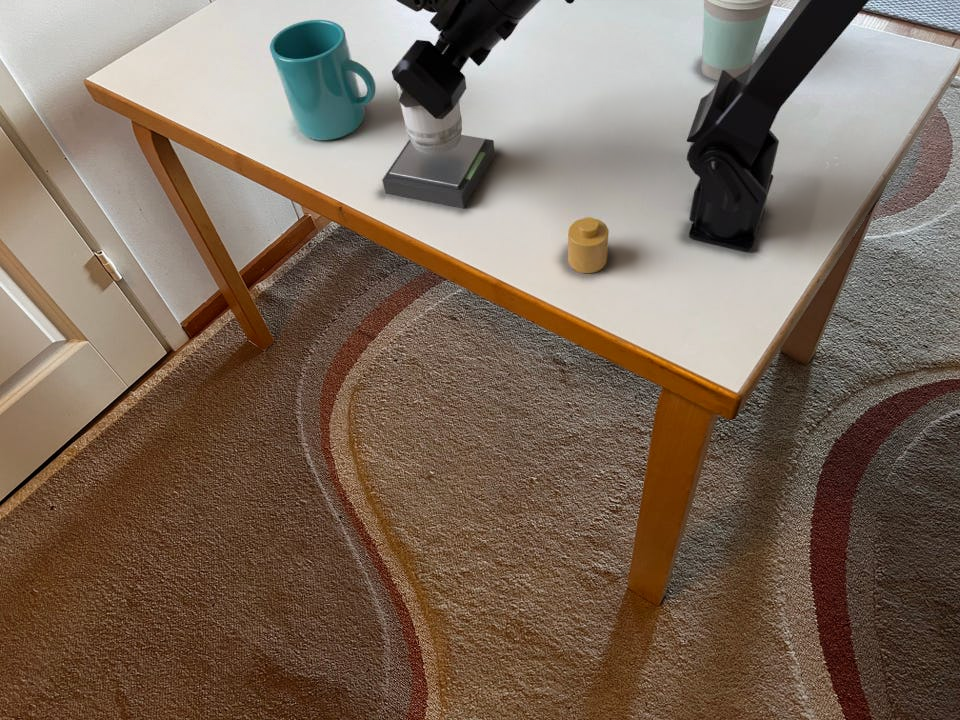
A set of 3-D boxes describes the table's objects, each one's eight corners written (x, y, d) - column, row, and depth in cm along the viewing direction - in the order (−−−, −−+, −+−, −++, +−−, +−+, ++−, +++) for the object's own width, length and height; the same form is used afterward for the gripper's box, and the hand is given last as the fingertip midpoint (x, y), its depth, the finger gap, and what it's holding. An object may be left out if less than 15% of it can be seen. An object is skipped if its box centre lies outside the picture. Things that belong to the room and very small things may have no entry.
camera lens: (475, 137, 80) (467, 73, 74) (432, 164, 78) (420, 101, 72) (440, 115, 84) (429, 52, 77) (398, 140, 82) (383, 78, 75)
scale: (495, 153, 86) (493, 135, 84) (463, 208, 81) (461, 190, 79) (420, 141, 89) (416, 123, 87) (385, 193, 84) (380, 175, 82)
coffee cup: (737, 44, 95) (756, -51, 85) (772, 77, 90) (797, -20, 80) (678, 60, 94) (691, -34, 84) (710, 95, 89) (728, -1, 79)
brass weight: (612, 251, 75) (614, 215, 71) (599, 277, 73) (601, 242, 69) (575, 242, 76) (576, 206, 72) (562, 268, 74) (562, 232, 70)
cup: (370, 149, 89) (349, 66, 80) (285, 138, 92) (255, 57, 83) (397, 106, 94) (379, 23, 85) (315, 97, 97) (290, 16, 88)
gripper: (476, -129, 66) (394, -17, 78) (390, -30, 56) (311, 80, 68) (560, -35, 70) (469, 58, 82) (492, 73, 60) (401, 159, 72)
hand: (415, 85), depth 76 cm, fingers closed on camera lens, 6 cm apart
